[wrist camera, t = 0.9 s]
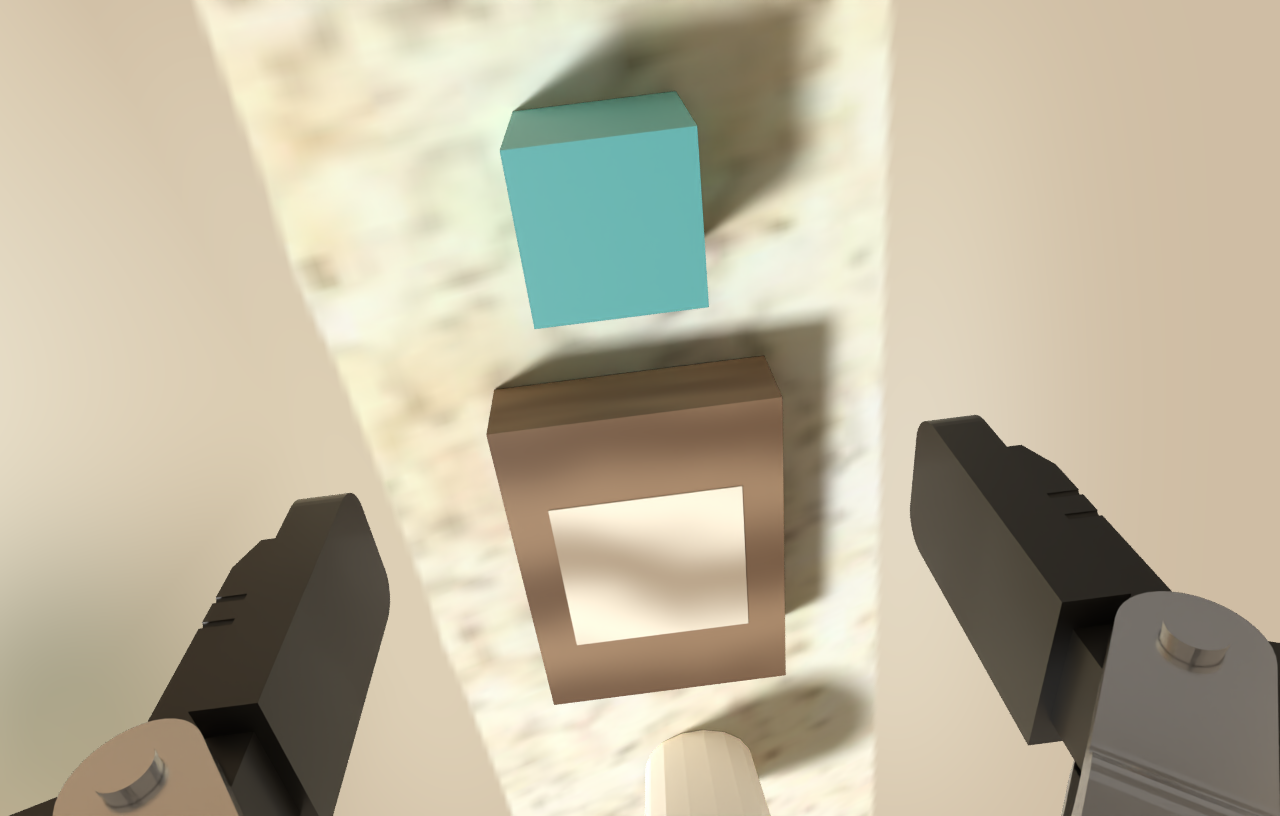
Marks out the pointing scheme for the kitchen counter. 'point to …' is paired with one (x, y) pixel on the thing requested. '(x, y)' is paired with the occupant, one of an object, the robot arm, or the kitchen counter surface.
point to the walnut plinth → (648, 525)
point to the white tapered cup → (703, 777)
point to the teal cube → (607, 208)
